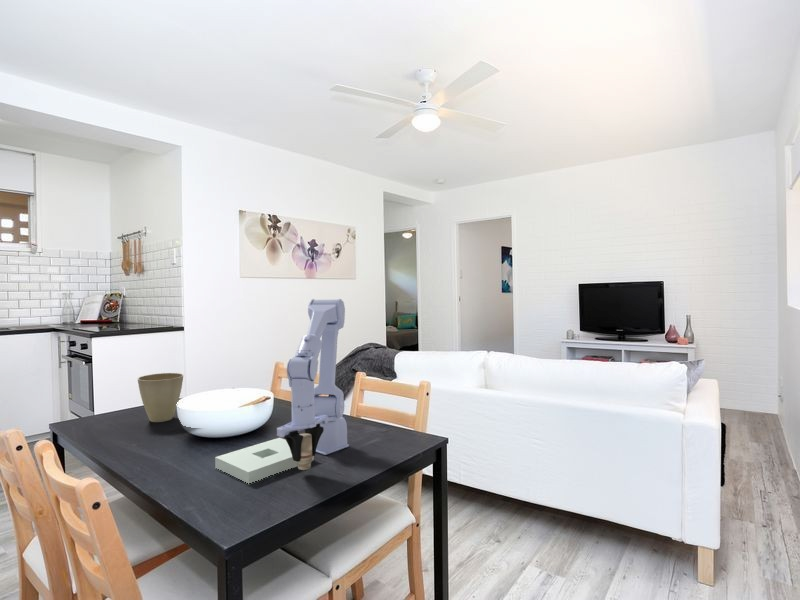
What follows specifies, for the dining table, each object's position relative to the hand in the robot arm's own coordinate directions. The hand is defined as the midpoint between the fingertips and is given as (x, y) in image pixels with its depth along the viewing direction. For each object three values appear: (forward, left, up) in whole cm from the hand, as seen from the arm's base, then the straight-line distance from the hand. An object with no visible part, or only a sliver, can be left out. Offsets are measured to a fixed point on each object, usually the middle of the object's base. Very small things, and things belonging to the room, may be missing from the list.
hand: (304, 457), depth 115 cm
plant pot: (+1, -82, -5) cm, 82 cm away
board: (+2, -14, -4) cm, 15 cm away
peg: (0, 0, -2) cm, 2 cm away
